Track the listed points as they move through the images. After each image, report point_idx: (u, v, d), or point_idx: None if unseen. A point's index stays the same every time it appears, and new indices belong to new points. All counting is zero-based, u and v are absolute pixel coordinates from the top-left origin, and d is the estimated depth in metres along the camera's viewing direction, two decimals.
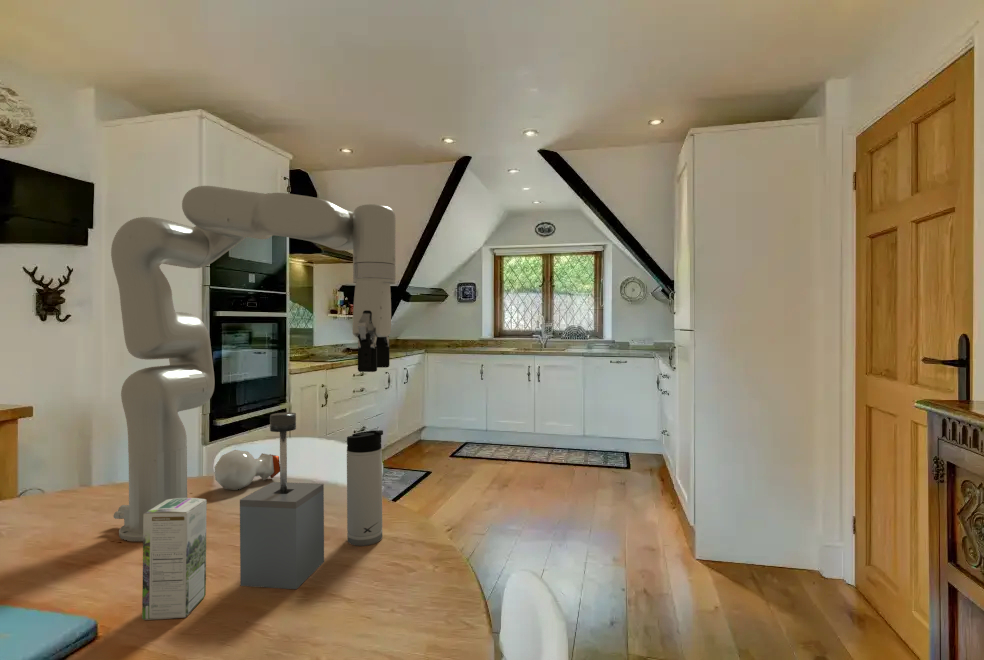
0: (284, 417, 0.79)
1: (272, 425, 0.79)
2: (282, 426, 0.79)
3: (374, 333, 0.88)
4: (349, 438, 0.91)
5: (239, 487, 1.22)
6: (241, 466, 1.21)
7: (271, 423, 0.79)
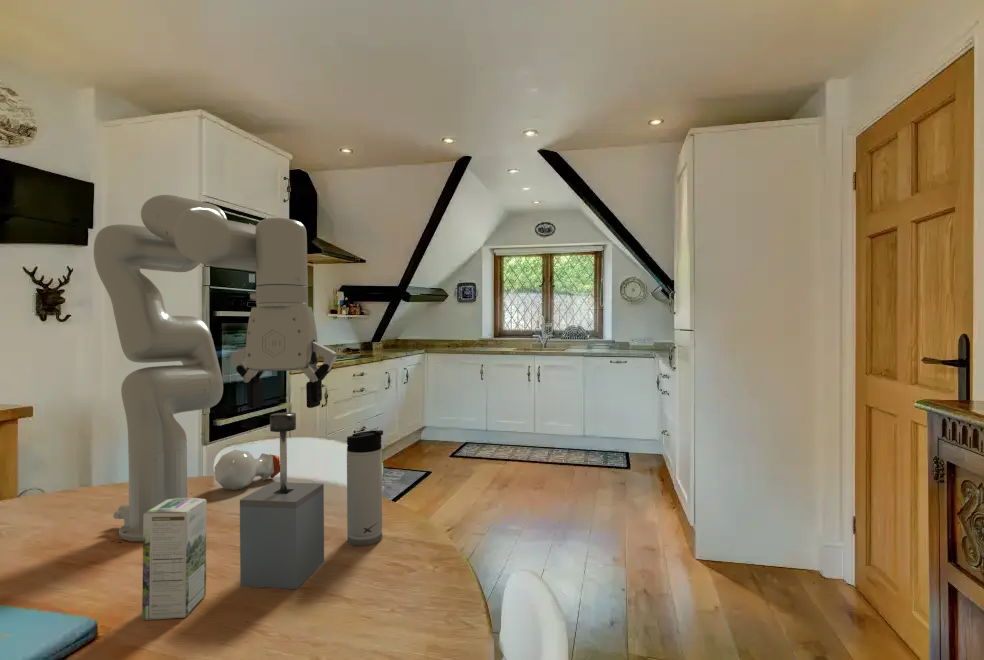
0: (284, 417, 0.79)
1: (272, 425, 0.79)
2: (282, 426, 0.79)
3: (314, 364, 0.81)
4: (349, 438, 0.91)
5: (239, 487, 1.22)
6: (241, 466, 1.21)
7: (271, 423, 0.79)
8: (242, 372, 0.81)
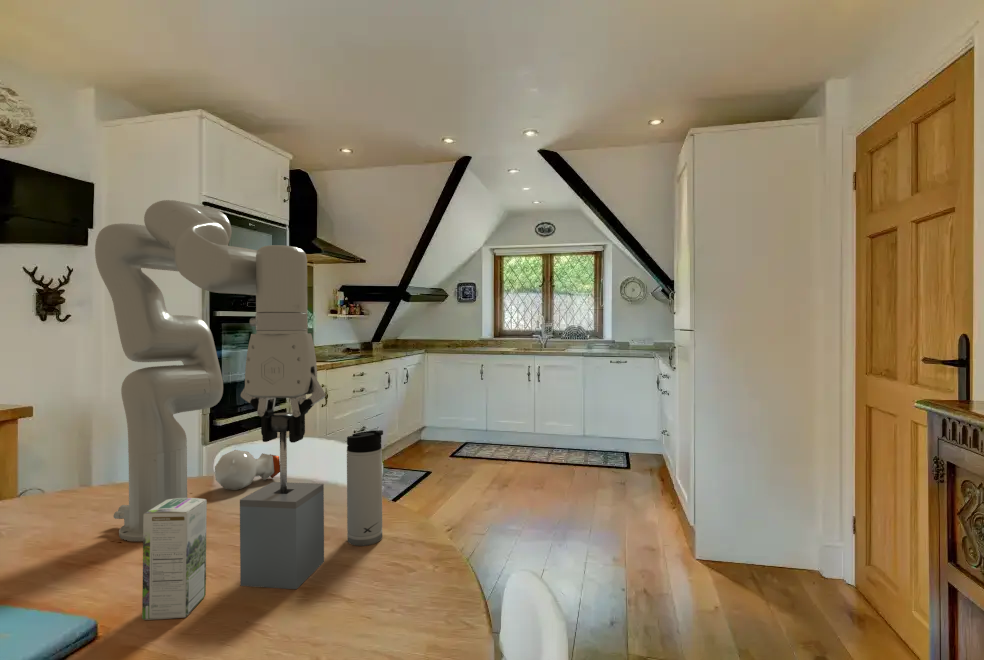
0: (284, 417, 0.79)
1: (272, 426, 0.79)
2: (282, 426, 0.79)
3: None
4: (349, 438, 0.91)
5: (239, 487, 1.22)
6: (241, 466, 1.21)
7: (271, 423, 0.79)
8: (256, 405, 0.80)
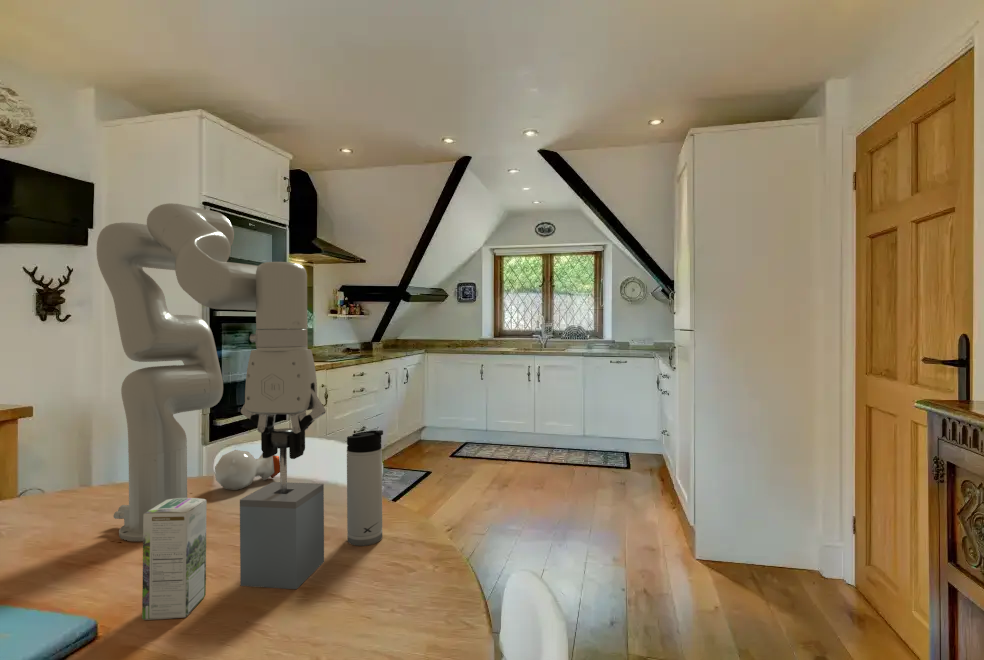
0: (284, 434, 0.79)
1: (272, 442, 0.79)
2: (282, 443, 0.79)
3: None
4: (349, 438, 0.91)
5: (239, 487, 1.22)
6: (241, 466, 1.21)
7: (271, 439, 0.79)
8: (256, 422, 0.80)
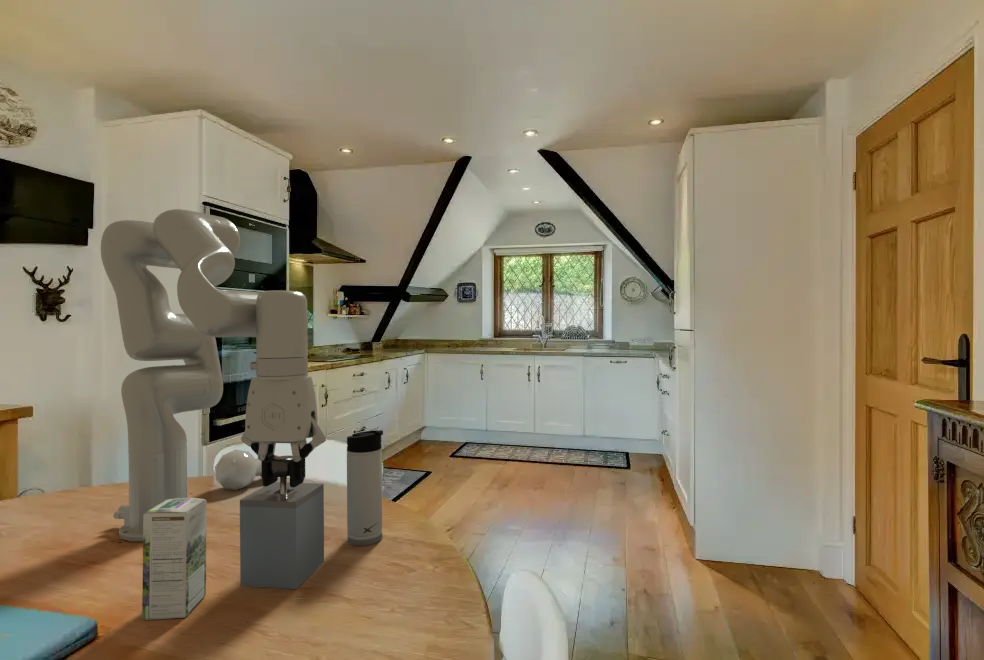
0: (284, 462, 0.79)
1: (273, 471, 0.79)
2: (283, 471, 0.79)
3: None
4: (349, 438, 0.91)
5: (239, 487, 1.22)
6: (241, 466, 1.21)
7: (271, 468, 0.79)
8: (257, 450, 0.80)
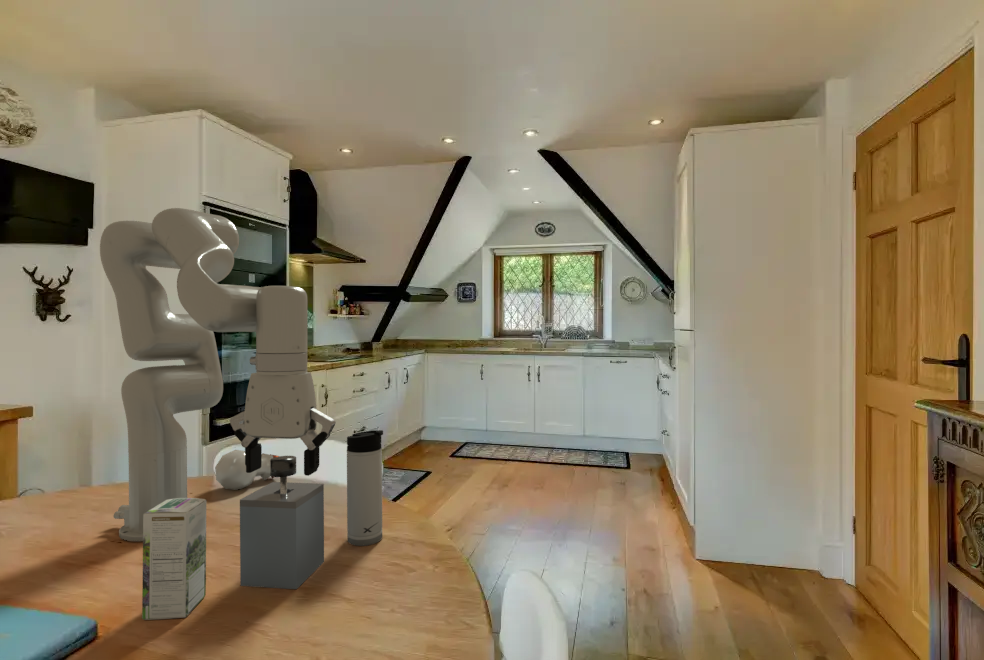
0: (284, 462, 0.79)
1: (273, 471, 0.79)
2: (283, 471, 0.79)
3: (312, 429, 0.81)
4: (349, 438, 0.91)
5: (240, 487, 1.22)
6: (242, 466, 1.21)
7: (271, 468, 0.79)
8: (240, 436, 0.81)
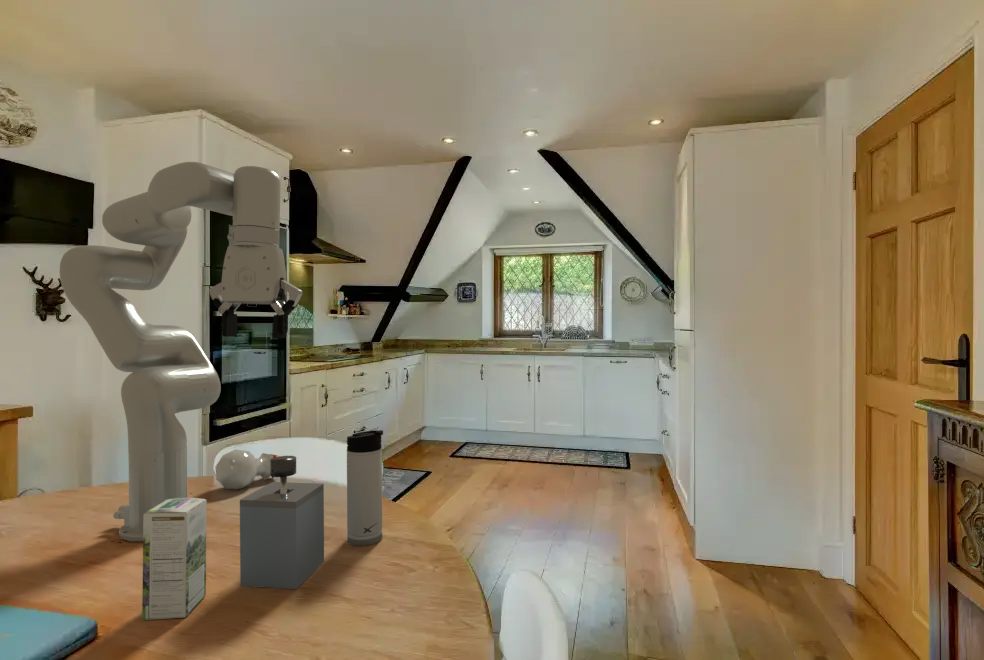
0: (284, 462, 0.79)
1: (273, 471, 0.79)
2: (283, 471, 0.79)
3: (282, 300, 0.90)
4: (349, 438, 0.91)
5: (240, 487, 1.23)
6: (242, 466, 1.21)
7: (271, 468, 0.79)
8: (218, 304, 0.90)
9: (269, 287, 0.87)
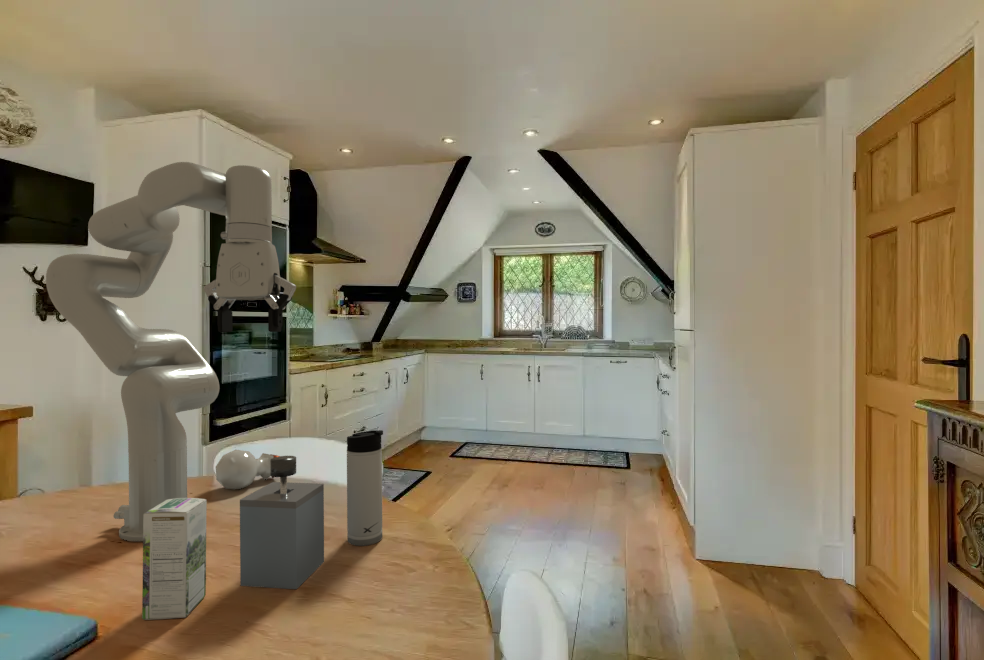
0: (284, 462, 0.79)
1: (273, 471, 0.79)
2: (283, 471, 0.79)
3: (276, 295, 0.93)
4: (349, 438, 0.91)
5: (240, 487, 1.23)
6: (242, 466, 1.21)
7: (271, 468, 0.79)
8: (213, 301, 0.92)
9: (263, 282, 0.89)
